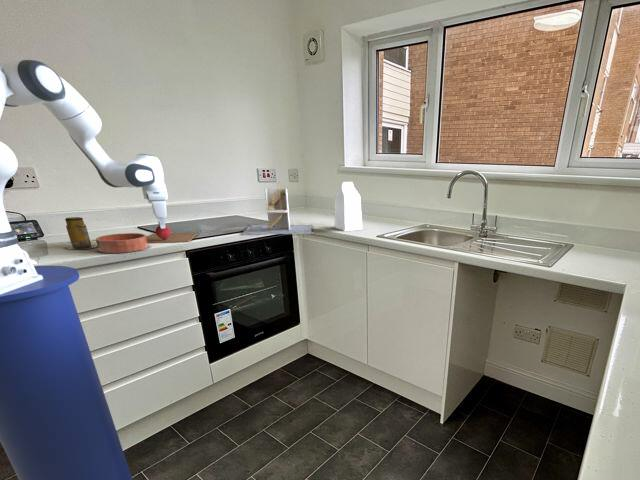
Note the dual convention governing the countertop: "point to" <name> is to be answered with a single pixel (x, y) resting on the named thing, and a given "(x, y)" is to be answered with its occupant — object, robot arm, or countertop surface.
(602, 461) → the countertop surface
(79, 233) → the condiment
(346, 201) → the milk
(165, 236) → the onion
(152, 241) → the mat
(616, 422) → the countertop surface
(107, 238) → the bowl
